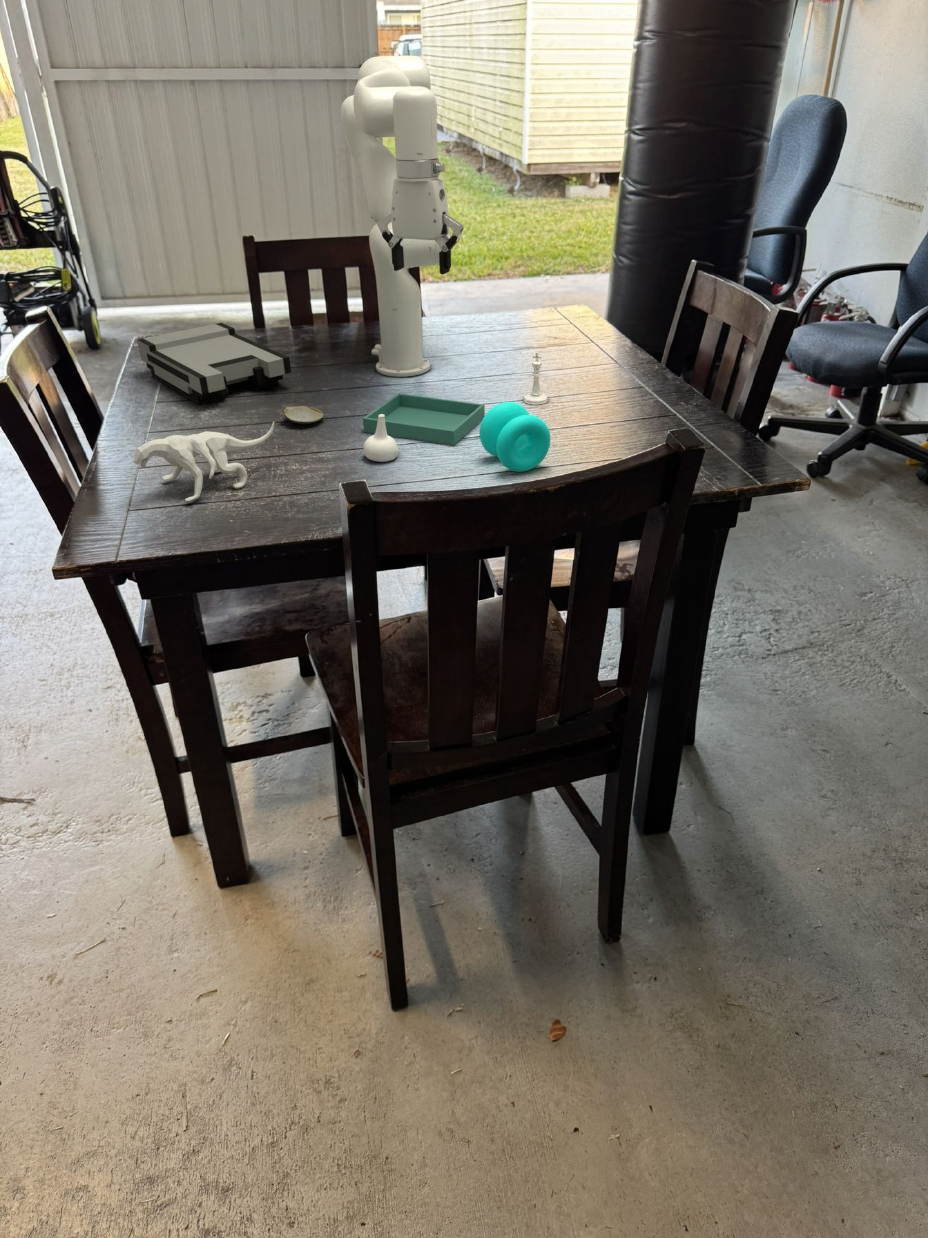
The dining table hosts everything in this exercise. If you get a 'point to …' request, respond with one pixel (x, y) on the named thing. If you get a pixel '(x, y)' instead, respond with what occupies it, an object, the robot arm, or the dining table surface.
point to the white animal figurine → (205, 444)
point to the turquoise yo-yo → (514, 436)
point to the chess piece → (536, 385)
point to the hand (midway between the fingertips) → (421, 270)
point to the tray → (426, 418)
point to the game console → (211, 362)
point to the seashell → (302, 414)
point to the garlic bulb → (380, 444)
